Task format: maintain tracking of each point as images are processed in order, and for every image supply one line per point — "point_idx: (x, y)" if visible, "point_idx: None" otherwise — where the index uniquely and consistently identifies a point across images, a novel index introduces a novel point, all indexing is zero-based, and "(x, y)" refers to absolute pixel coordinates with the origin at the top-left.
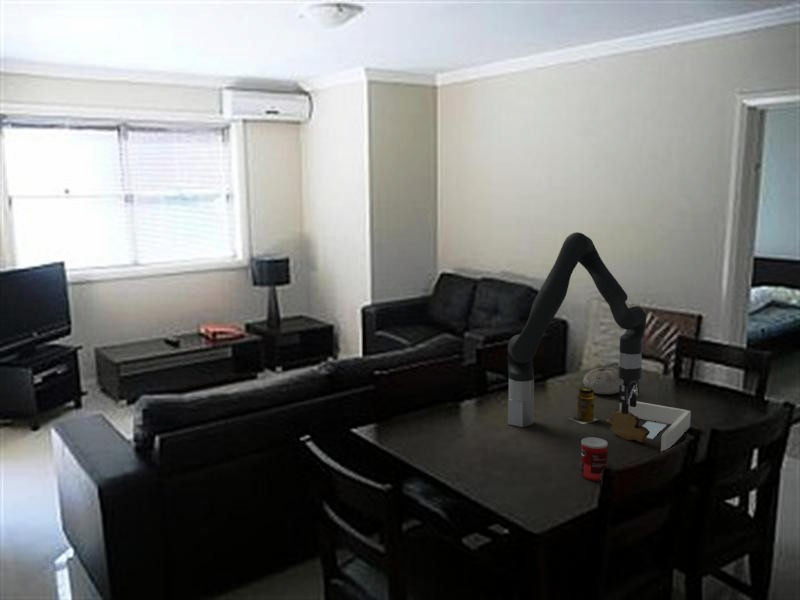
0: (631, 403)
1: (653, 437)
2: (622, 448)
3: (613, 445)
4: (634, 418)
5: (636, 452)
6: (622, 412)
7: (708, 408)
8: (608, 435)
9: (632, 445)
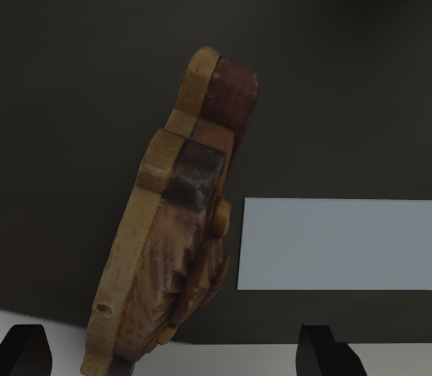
0: (308, 365)
1: (258, 288)
2: (10, 212)
3: (13, 159)
4: (82, 368)
5: (15, 277)
6: (13, 336)
7: None
8: (159, 73)
9: (92, 239)
